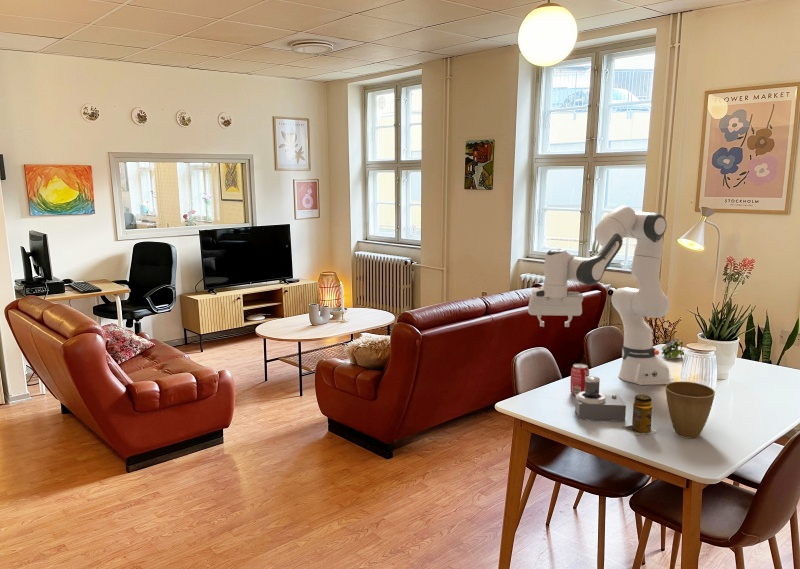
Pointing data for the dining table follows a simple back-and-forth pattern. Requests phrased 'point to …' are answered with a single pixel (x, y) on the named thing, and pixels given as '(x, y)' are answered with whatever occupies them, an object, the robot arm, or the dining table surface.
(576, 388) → the soda can
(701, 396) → the plant pot
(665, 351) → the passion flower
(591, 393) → the lens
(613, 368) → the dining table surface
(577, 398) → the camera body
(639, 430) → the condiment
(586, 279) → the robot arm
